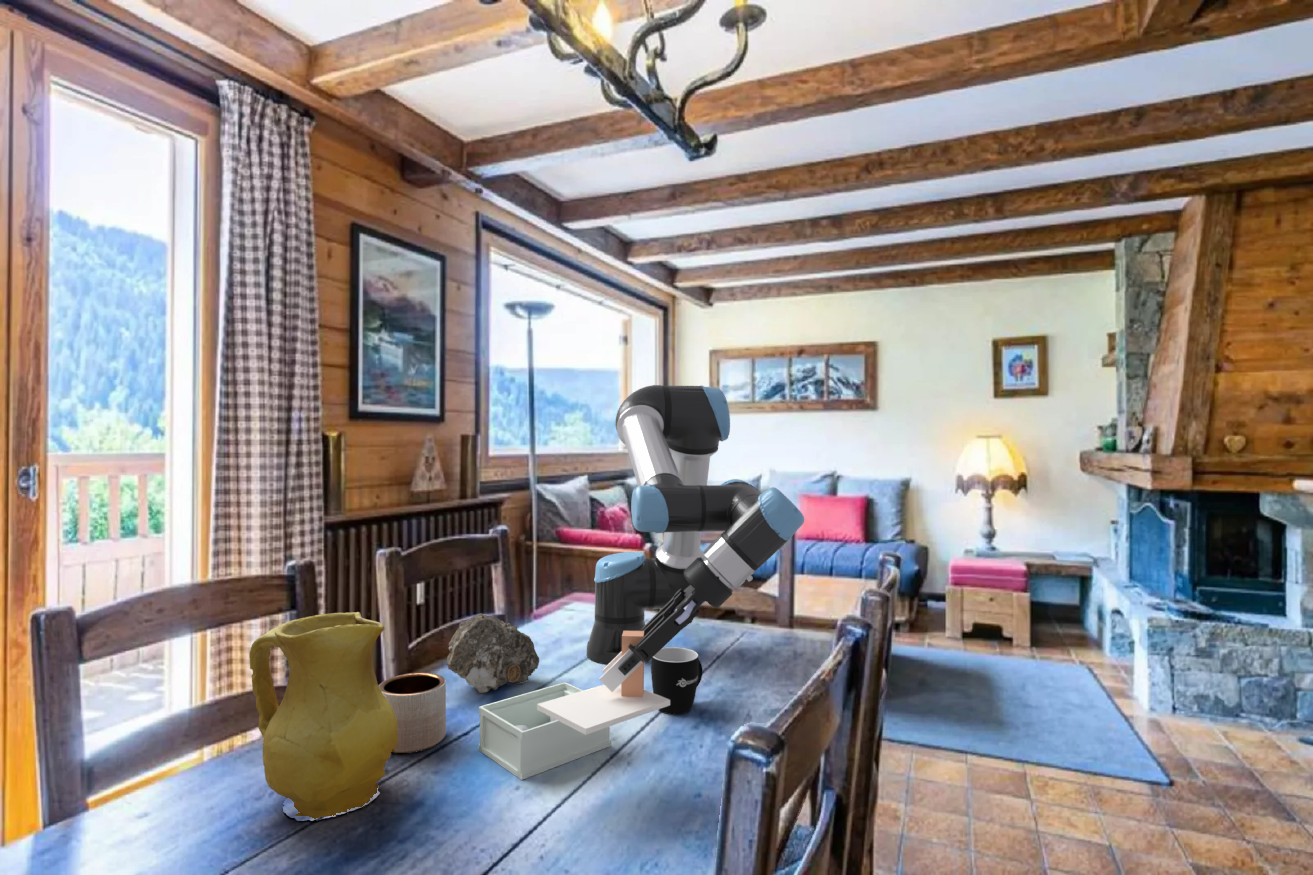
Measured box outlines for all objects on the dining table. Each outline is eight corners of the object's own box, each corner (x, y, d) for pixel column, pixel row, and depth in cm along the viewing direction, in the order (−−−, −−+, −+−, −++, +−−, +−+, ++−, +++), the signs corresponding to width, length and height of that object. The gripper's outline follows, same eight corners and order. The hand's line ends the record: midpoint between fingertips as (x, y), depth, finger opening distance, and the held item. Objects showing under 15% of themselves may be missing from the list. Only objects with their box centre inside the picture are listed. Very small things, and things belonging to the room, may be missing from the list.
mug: (674, 722, 124) (675, 665, 124) (640, 707, 130) (641, 653, 130) (718, 704, 132) (719, 651, 132) (683, 691, 138) (684, 641, 138)
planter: (459, 732, 118) (459, 676, 118) (417, 760, 108) (418, 699, 108) (406, 723, 122) (407, 668, 122) (361, 749, 112) (362, 690, 112)
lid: (619, 684, 111) (620, 623, 111) (670, 705, 102) (670, 638, 102) (536, 709, 100) (537, 641, 100) (585, 734, 92) (586, 660, 92)
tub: (564, 721, 123) (565, 682, 123) (610, 745, 114) (611, 703, 114) (478, 750, 112) (478, 706, 112) (521, 780, 102) (522, 732, 102)
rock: (493, 612, 133) (474, 583, 146) (438, 671, 130) (423, 637, 142) (555, 661, 141) (532, 630, 154) (505, 719, 138) (485, 682, 151)
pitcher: (309, 845, 85) (311, 638, 86) (230, 808, 94) (233, 623, 96) (423, 790, 99) (424, 613, 100) (344, 763, 109) (346, 602, 110)
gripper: (739, 602, 96) (619, 719, 97) (731, 580, 113) (628, 680, 113) (701, 564, 97) (582, 680, 97) (698, 547, 113) (596, 647, 113)
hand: (607, 680), depth 105 cm, fingers closed on lid, 3 cm apart
